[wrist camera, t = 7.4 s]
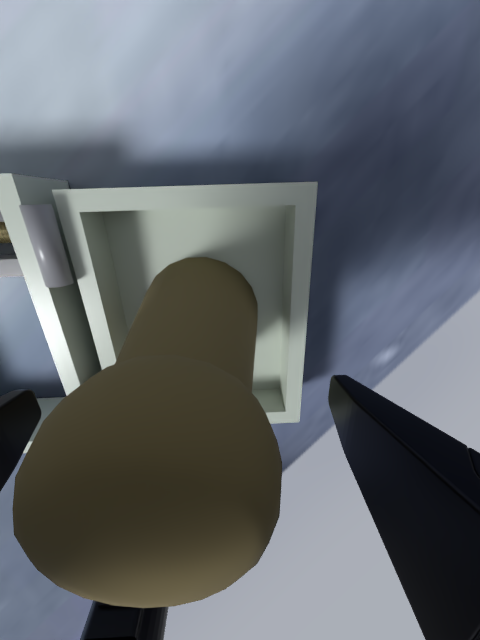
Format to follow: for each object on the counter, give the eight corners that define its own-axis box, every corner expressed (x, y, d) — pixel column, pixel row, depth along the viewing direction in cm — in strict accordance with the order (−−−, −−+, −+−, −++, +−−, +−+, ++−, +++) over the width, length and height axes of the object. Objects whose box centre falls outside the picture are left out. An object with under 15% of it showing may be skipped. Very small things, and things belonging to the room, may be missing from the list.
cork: (266, 264, 13) (379, 446, 3) (249, 366, 16) (286, 653, 6) (143, 249, 13) (-160, 412, 3) (144, 357, 15) (-18, 653, 5)
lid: (289, 390, 18) (299, 422, 15) (135, 397, 17) (119, 431, 15) (300, 185, 13) (317, 181, 10) (88, 192, 13) (51, 189, 10)
